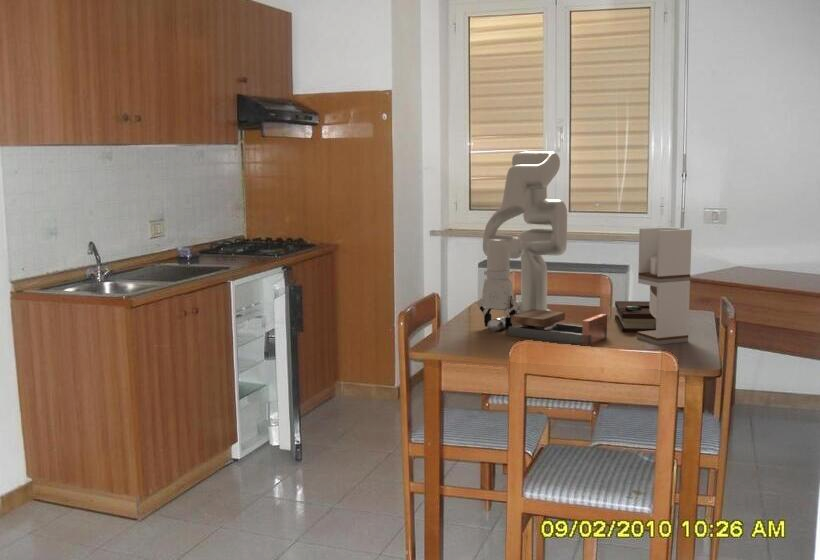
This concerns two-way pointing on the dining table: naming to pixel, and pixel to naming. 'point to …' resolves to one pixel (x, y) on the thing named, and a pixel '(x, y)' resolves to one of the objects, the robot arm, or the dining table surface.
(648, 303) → the decorative book
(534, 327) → the track
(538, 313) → the slab
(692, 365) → the dining table surface
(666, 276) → the white tower
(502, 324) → the roller
